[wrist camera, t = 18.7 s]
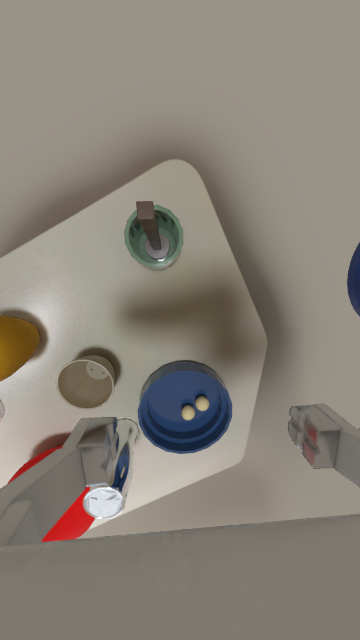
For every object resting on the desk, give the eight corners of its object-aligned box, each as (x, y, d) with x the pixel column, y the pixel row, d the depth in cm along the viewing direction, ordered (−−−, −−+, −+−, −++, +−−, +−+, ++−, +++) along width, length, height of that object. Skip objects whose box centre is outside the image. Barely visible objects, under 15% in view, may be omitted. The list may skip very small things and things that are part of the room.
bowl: (225, 357, 43) (233, 368, 38) (224, 432, 47) (231, 449, 42) (138, 362, 42) (134, 374, 37) (144, 438, 46) (141, 457, 41)
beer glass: (145, 435, 45) (134, 510, 31) (118, 447, 46) (95, 526, 31) (131, 412, 44) (113, 479, 29) (104, 424, 44) (72, 496, 30)
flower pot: (66, 356, 40) (44, 372, 33) (109, 338, 40) (97, 351, 33) (89, 395, 42) (73, 418, 35) (130, 378, 42) (123, 398, 35)
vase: (128, 465, 47) (101, 588, 28) (72, 505, 48) (12, 647, 30) (73, 415, 43) (1, 519, 25) (15, 460, 45) (-94, 590, 26)
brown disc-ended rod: (168, 235, 36) (169, 181, 16) (170, 259, 37) (171, 237, 17) (145, 235, 36) (116, 181, 16) (147, 260, 37) (121, 238, 17)
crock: (178, 224, 36) (181, 204, 26) (179, 269, 38) (183, 266, 28) (134, 225, 36) (121, 205, 26) (138, 270, 38) (127, 267, 28)
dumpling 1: (186, 421, 40) (176, 411, 42) (190, 424, 42) (181, 415, 44) (195, 408, 41) (185, 400, 43) (199, 413, 43) (189, 404, 45)
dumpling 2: (213, 403, 42) (208, 407, 40) (205, 411, 43) (199, 415, 41) (204, 391, 44) (198, 395, 41) (197, 399, 45) (190, 403, 42)
